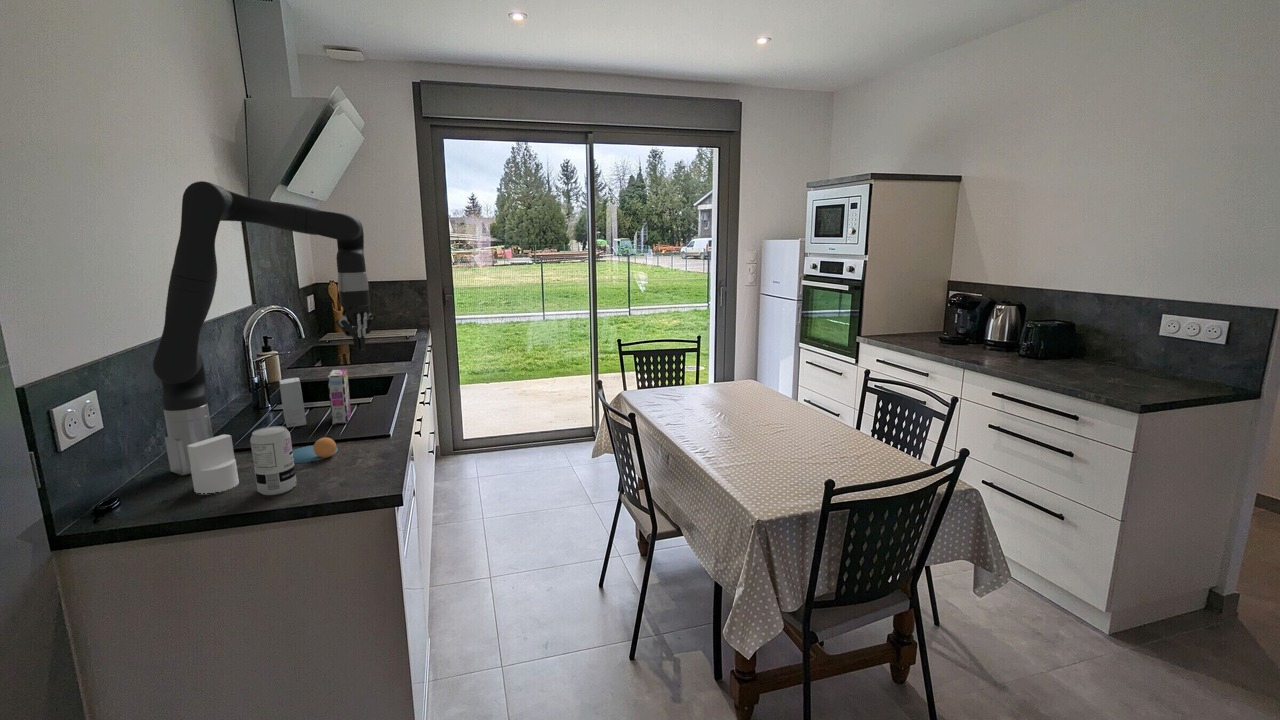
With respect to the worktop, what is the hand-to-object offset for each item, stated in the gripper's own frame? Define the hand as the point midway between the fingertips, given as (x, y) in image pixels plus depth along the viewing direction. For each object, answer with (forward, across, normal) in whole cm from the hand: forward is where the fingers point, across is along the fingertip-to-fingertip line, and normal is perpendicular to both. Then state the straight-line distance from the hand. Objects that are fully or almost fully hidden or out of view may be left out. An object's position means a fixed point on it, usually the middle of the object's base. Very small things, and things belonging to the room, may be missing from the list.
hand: (360, 350), depth 166 cm
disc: (+29, +9, -12) cm, 33 cm away
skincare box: (+29, -11, -41) cm, 51 cm away
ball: (+26, +10, -6) cm, 29 cm away
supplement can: (+29, +30, 0) cm, 42 cm away
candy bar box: (+29, -19, -29) cm, 46 cm away
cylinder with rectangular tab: (+29, +34, -16) cm, 47 cm away
